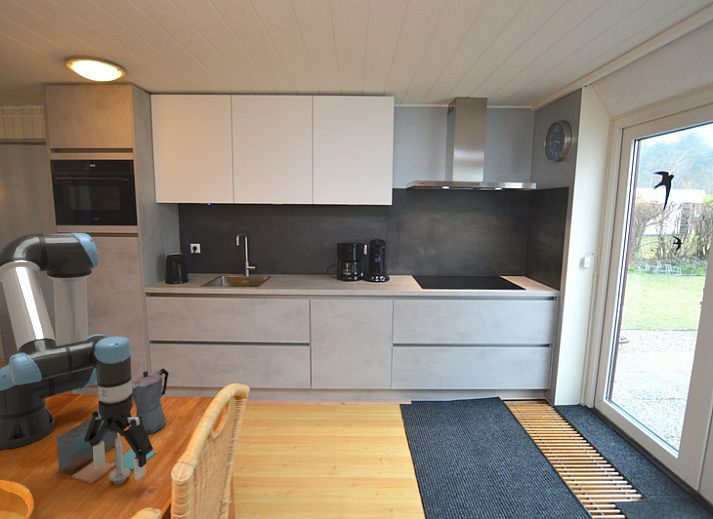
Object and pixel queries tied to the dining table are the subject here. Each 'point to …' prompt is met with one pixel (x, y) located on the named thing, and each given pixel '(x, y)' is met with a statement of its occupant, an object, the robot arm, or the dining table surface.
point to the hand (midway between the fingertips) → (119, 471)
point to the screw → (119, 464)
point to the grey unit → (79, 448)
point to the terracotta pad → (93, 472)
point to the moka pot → (150, 399)
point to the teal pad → (129, 459)
